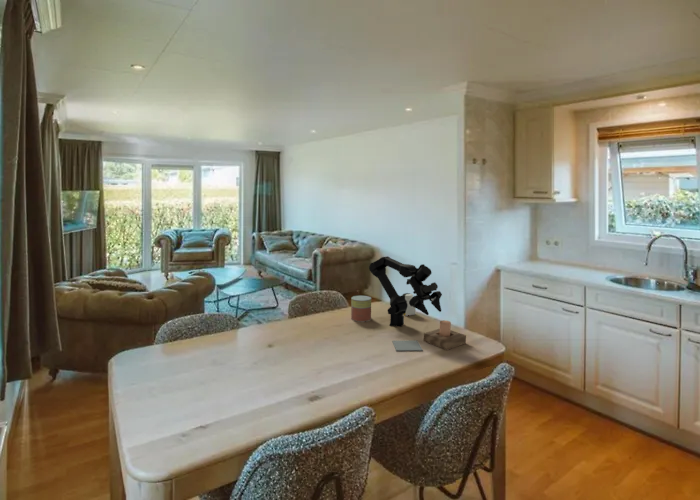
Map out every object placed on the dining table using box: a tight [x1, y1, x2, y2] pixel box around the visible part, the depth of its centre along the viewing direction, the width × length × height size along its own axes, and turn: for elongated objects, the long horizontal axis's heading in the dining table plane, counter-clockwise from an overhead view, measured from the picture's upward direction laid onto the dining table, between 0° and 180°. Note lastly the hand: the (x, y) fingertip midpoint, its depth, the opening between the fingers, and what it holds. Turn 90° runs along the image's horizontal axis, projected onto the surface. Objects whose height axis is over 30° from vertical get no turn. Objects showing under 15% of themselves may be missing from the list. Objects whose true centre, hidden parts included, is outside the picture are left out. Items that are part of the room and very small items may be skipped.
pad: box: [391, 339, 424, 352], centre depth 196 cm, size 12×12×1 cm
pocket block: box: [423, 328, 467, 351], centre depth 202 cm, size 14×14×4 cm
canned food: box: [350, 295, 372, 323], centre depth 237 cm, size 11×11×12 cm
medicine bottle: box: [402, 292, 417, 317], centre depth 247 cm, size 7×7×12 cm
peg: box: [439, 320, 452, 337], centre depth 201 cm, size 5×5×10 cm
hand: (434, 313), depth 205 cm, fingers open, 9 cm apart
